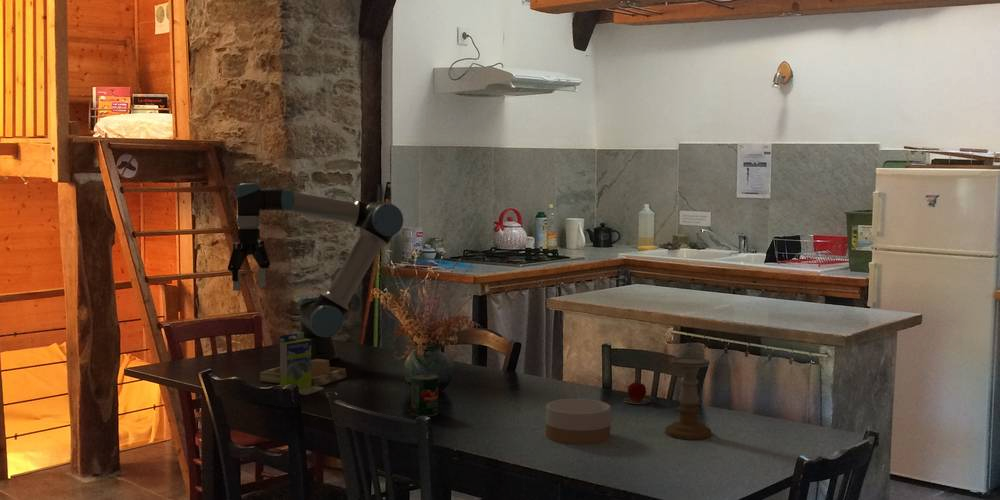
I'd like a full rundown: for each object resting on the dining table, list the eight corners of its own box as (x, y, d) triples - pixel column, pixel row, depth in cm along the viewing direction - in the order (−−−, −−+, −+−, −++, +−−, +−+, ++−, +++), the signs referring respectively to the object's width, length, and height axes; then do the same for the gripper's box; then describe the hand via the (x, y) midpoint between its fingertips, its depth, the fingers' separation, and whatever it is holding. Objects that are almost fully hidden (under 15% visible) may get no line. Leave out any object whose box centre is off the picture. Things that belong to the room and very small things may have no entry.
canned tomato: (431, 417, 294) (431, 379, 293) (406, 415, 297) (406, 377, 296) (442, 411, 301) (442, 374, 300) (418, 409, 304) (418, 372, 303)
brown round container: (564, 448, 263) (564, 416, 263) (534, 432, 279) (535, 401, 278) (622, 441, 270) (622, 409, 270) (590, 425, 286) (591, 396, 285)
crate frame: (292, 371, 359) (292, 363, 358) (346, 377, 349) (346, 368, 349) (260, 381, 342) (260, 372, 342) (315, 387, 333) (314, 378, 333)
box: (287, 391, 324) (286, 337, 323) (278, 389, 327) (278, 335, 325) (312, 385, 333) (312, 333, 331) (304, 384, 335) (303, 331, 334)
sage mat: (285, 384, 337) (285, 383, 337) (323, 389, 330) (323, 387, 330) (268, 390, 329) (268, 388, 329) (307, 394, 322) (306, 392, 322)
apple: (630, 398, 320) (631, 377, 319) (654, 401, 315) (654, 380, 315) (618, 402, 314) (618, 381, 313) (641, 406, 309) (642, 385, 308)
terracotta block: (316, 379, 346) (316, 358, 345) (329, 380, 344) (329, 360, 343) (309, 381, 342) (309, 360, 342) (322, 382, 340) (322, 362, 340)
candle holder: (719, 438, 273) (721, 363, 271) (677, 441, 270) (678, 365, 268) (698, 426, 285) (699, 354, 283) (657, 429, 281) (658, 357, 280)
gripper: (262, 225, 370) (263, 284, 372) (216, 229, 348) (217, 291, 349) (279, 226, 367) (280, 285, 369) (233, 230, 344) (234, 293, 346)
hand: (249, 288), depth 359 cm, fingers open, 13 cm apart
